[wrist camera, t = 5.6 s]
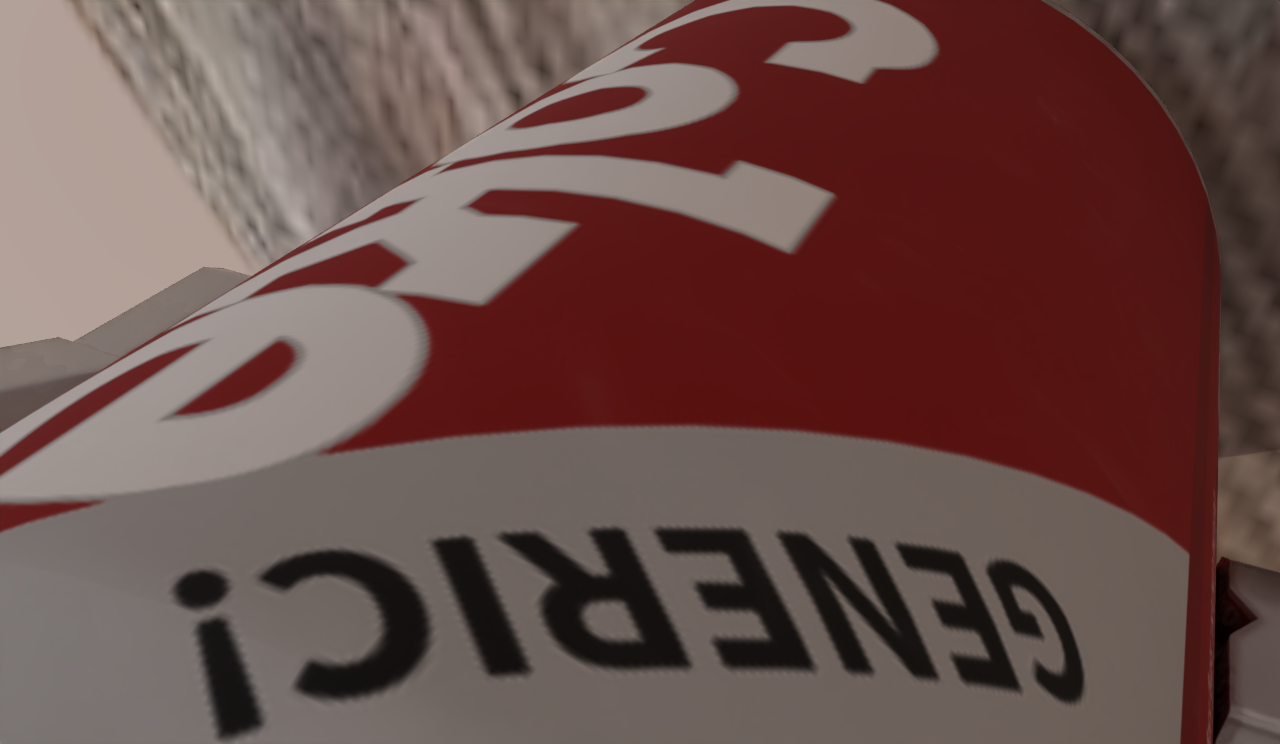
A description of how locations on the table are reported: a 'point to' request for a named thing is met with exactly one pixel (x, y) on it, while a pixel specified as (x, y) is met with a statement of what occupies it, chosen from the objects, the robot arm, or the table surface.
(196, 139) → the table surface
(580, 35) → the table surface
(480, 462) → the soda can
